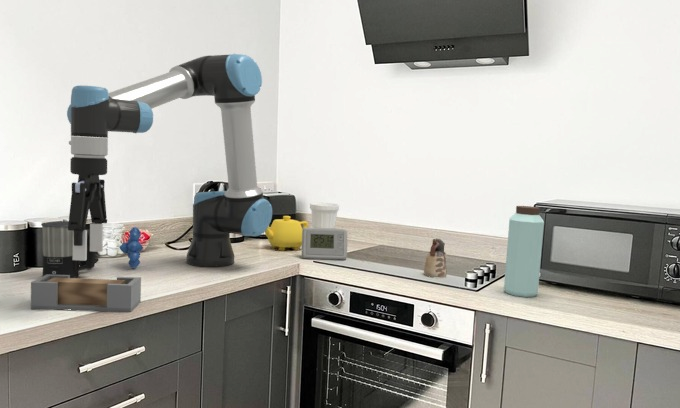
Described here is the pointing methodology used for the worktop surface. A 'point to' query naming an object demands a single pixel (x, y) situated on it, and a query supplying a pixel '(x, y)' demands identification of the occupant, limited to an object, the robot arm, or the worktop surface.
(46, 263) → the milk frother
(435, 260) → the figurine
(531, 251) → the water bottle
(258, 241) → the worktop surface
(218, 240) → the robot arm
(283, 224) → the teapot
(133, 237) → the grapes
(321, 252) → the digital clock
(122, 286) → the rail
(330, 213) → the cup
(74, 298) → the slat
